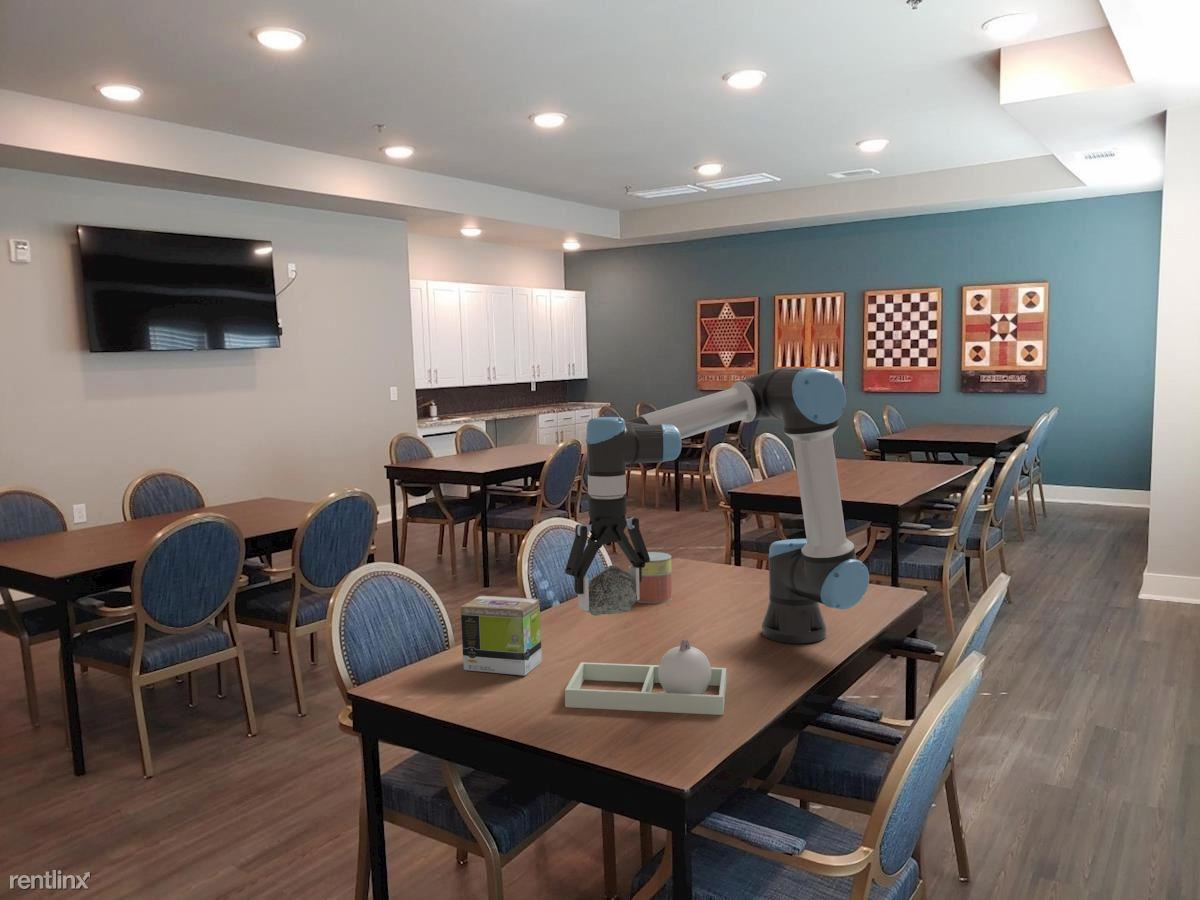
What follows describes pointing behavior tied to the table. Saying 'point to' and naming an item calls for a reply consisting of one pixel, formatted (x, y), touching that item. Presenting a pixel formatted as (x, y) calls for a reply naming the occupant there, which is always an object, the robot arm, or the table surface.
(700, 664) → the ornament
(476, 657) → the tea box
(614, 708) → the holder
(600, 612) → the stone
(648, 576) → the canned food
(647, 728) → the table surface
